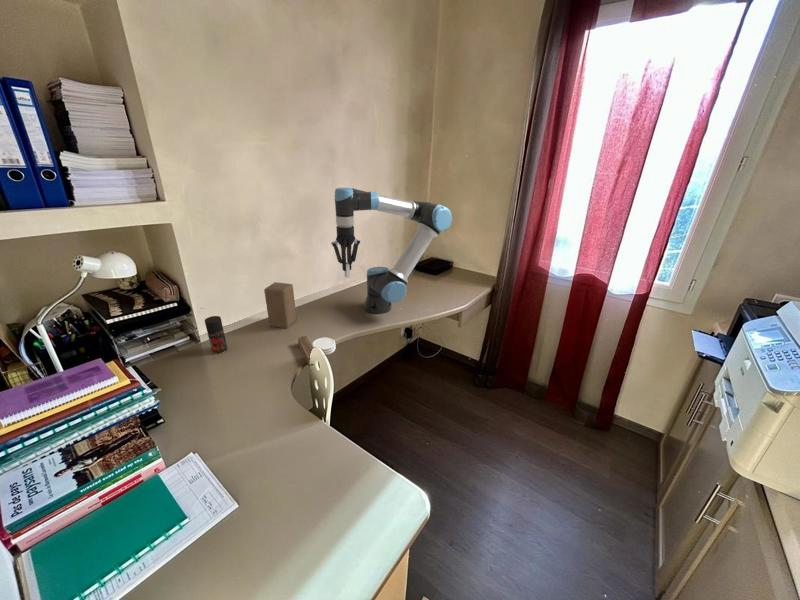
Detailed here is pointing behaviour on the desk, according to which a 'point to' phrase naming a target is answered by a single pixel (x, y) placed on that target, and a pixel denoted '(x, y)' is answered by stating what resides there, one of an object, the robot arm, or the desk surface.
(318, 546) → the desk surface
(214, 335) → the deodorant
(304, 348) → the brown wooden bar
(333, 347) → the coaster
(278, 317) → the wooden block
